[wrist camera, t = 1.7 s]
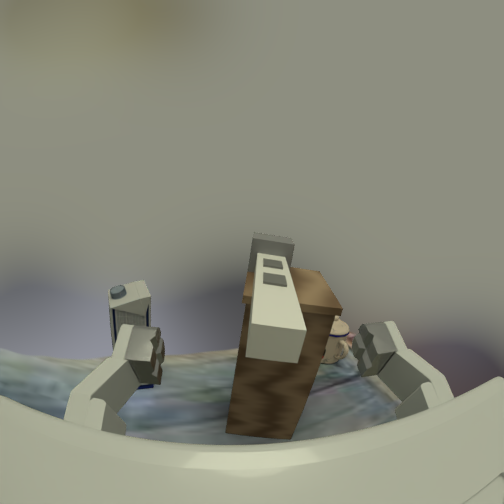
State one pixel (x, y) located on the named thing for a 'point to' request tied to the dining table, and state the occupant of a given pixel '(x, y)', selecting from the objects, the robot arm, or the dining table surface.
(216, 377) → the dining table surface
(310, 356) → the stand
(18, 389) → the dining table surface
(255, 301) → the power strip
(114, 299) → the milk carton
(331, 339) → the teacup with lid
